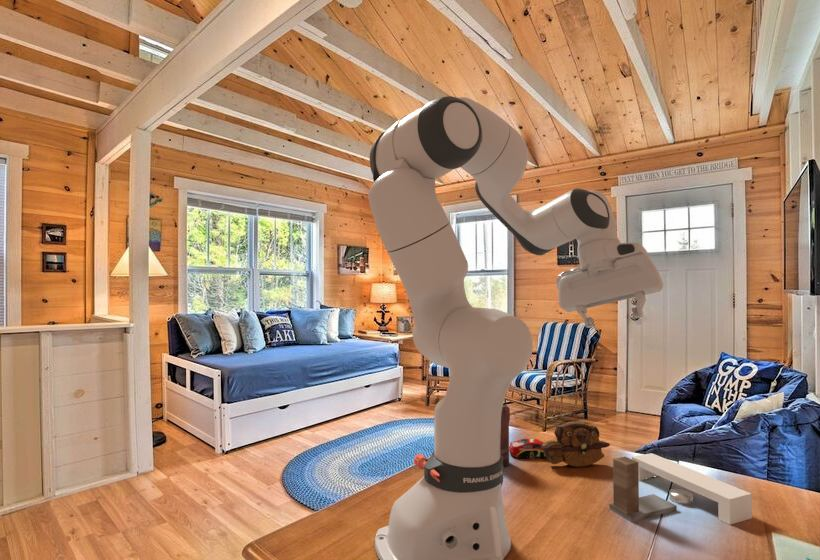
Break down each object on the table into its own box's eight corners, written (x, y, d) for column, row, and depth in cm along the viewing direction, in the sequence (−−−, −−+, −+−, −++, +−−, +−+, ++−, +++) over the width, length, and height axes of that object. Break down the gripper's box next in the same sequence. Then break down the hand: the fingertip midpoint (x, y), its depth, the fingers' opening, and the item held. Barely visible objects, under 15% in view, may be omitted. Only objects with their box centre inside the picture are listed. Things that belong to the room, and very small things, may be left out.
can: (510, 469, 102) (510, 408, 102) (482, 467, 103) (482, 407, 103) (509, 459, 108) (509, 402, 108) (483, 457, 109) (483, 400, 109)
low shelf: (729, 524, 78) (729, 499, 78) (632, 477, 98) (631, 456, 98) (751, 518, 80) (751, 493, 80) (651, 473, 100) (651, 453, 100)
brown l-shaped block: (631, 522, 79) (630, 466, 79) (609, 509, 84) (609, 456, 84) (676, 511, 83) (676, 457, 83) (653, 499, 88) (653, 448, 88)
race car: (559, 452, 113) (559, 437, 113) (565, 461, 108) (565, 444, 108) (507, 451, 114) (507, 435, 114) (511, 459, 108) (511, 443, 108)
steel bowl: (683, 508, 84) (683, 499, 84) (664, 498, 88) (664, 490, 88) (698, 504, 86) (697, 496, 86) (679, 495, 90) (678, 487, 90)
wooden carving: (549, 472, 100) (549, 428, 100) (540, 464, 105) (539, 422, 105) (613, 466, 103) (613, 424, 104) (601, 459, 108) (601, 418, 108)
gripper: (549, 269, 98) (557, 328, 93) (647, 240, 86) (664, 306, 80) (560, 278, 103) (569, 335, 97) (656, 251, 90) (672, 315, 85)
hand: (613, 322), depth 89 cm, fingers open, 8 cm apart
